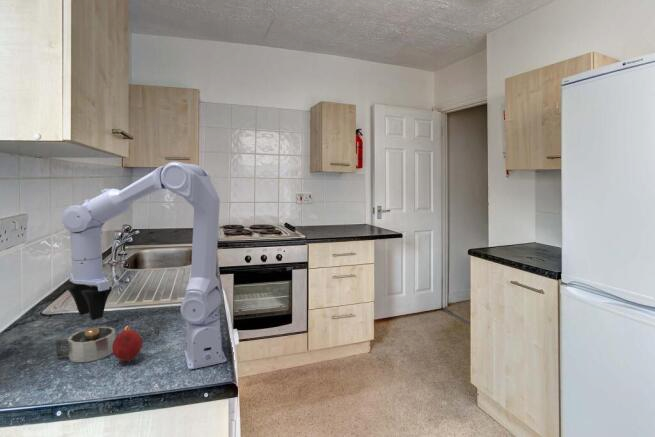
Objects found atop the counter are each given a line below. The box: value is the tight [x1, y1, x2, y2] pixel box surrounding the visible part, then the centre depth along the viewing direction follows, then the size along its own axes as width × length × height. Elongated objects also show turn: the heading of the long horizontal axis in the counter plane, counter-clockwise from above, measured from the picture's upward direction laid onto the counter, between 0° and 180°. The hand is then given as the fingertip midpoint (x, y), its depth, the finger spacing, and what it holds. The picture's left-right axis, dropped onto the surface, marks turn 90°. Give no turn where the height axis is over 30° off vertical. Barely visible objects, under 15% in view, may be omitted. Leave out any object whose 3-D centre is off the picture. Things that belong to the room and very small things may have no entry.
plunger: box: [84, 326, 100, 341], centre depth 82 cm, size 6×6×5 cm
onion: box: [112, 325, 143, 362], centre depth 79 cm, size 6×6×8 cm
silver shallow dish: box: [55, 326, 117, 364], centre depth 82 cm, size 9×11×4 cm
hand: (91, 315), depth 82 cm, fingers open, 5 cm apart
